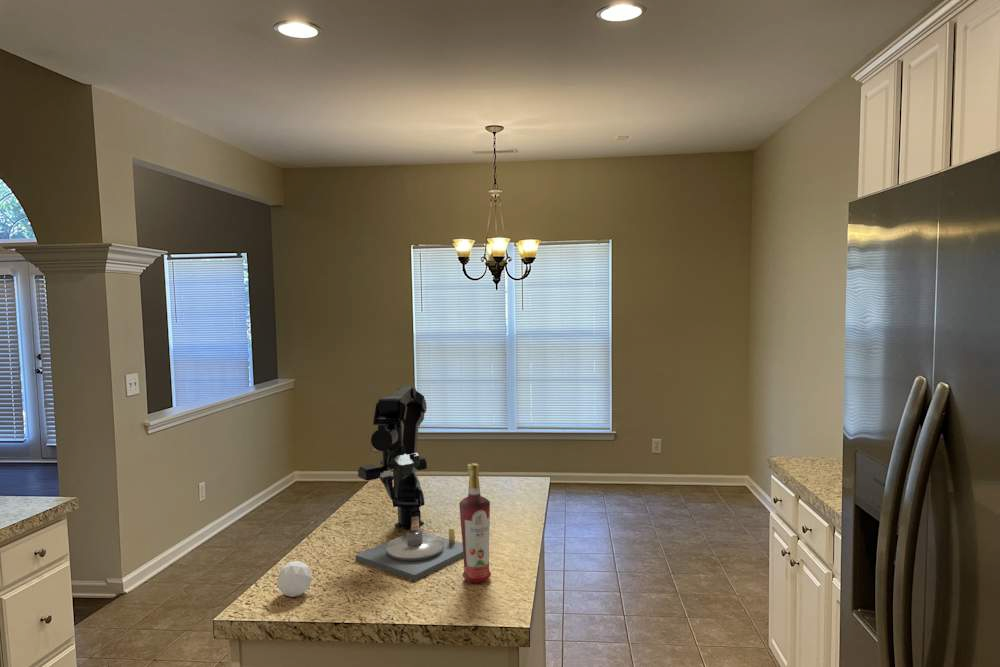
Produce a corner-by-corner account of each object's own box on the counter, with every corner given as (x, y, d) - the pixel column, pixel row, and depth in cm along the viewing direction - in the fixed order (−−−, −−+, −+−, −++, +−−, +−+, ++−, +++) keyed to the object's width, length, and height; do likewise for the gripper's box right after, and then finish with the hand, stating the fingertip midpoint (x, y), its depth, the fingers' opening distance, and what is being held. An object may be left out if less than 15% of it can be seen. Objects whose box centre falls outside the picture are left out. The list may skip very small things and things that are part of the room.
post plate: (355, 560, 169) (354, 540, 169) (416, 535, 186) (415, 516, 186) (414, 581, 155) (414, 558, 155) (474, 551, 173) (473, 531, 172)
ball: (304, 605, 150) (319, 582, 148) (271, 602, 146) (285, 578, 143) (302, 578, 156) (316, 556, 154) (270, 575, 152) (283, 551, 149)
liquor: (468, 589, 150) (464, 470, 149) (457, 577, 157) (453, 463, 156) (496, 582, 153) (493, 466, 152) (485, 571, 160) (481, 459, 158)
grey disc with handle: (444, 558, 164) (444, 541, 164) (384, 563, 162) (384, 545, 162) (442, 530, 184) (441, 515, 184) (389, 534, 183) (388, 518, 182)
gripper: (374, 453, 166) (376, 512, 167) (436, 442, 177) (438, 498, 178) (356, 446, 175) (358, 502, 176) (416, 436, 186) (418, 489, 187)
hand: (394, 498), depth 179 cm, fingers closed
